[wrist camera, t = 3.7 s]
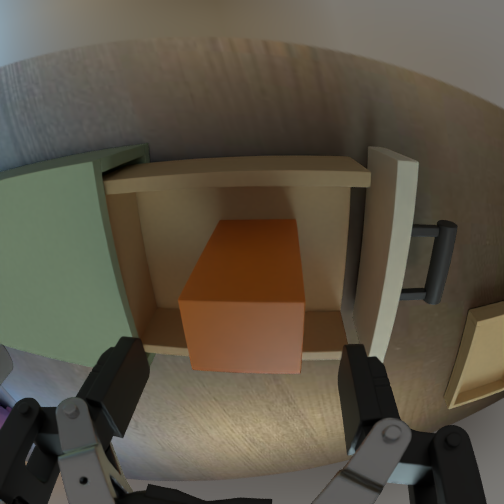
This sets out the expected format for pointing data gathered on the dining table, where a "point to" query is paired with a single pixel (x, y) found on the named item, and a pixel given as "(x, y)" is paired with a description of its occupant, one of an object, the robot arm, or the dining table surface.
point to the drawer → (274, 207)
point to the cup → (4, 364)
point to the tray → (479, 357)
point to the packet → (246, 299)
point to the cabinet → (63, 258)
